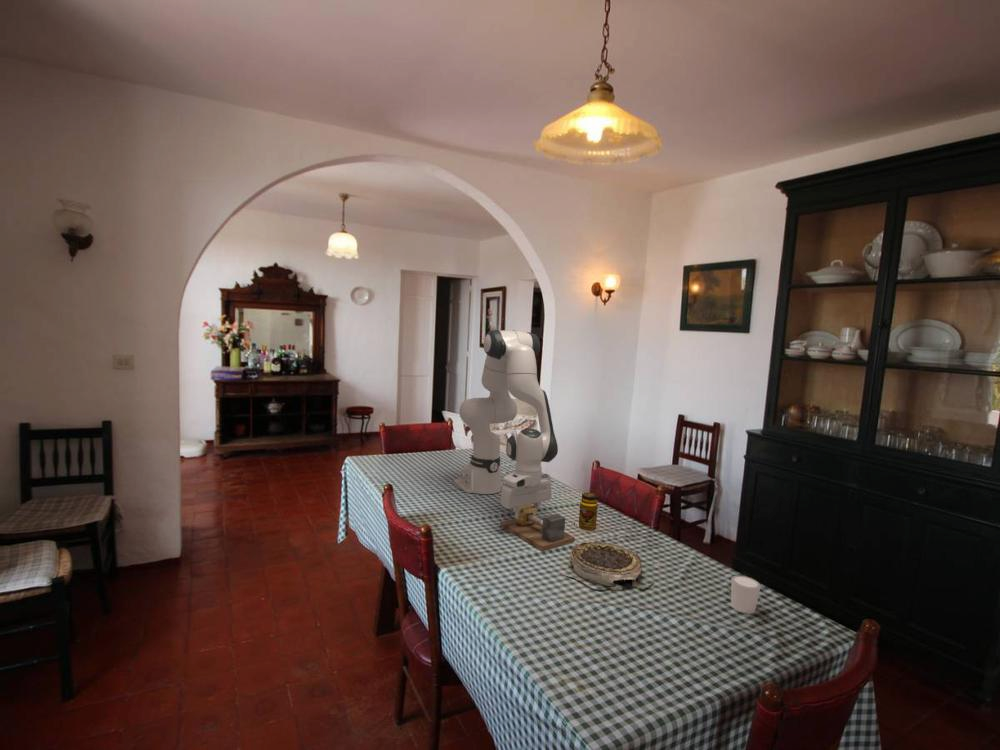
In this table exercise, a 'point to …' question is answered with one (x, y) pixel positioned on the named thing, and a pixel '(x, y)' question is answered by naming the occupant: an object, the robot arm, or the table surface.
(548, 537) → the rod board
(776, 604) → the table surface
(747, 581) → the white cup
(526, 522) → the nut
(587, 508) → the condiment
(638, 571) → the pie
